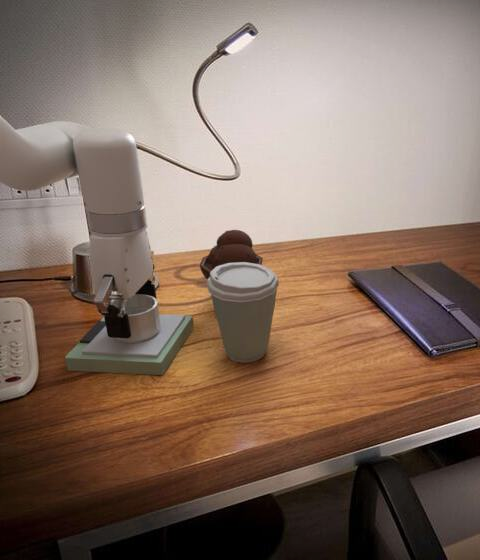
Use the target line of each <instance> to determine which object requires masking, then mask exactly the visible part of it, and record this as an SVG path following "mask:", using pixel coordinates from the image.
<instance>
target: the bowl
mask: <svg viewBox="0 0 480 560" xmlns="http://www.w3.org/2000/svg"><path fill="white" fill-rule="evenodd" d="M111 305H114V306H115V307H117V308H118V305H119V300H111ZM125 314H128V318H129V324H130V330H131V336H130V338H116V339H117V340H119V341H121V342H126V343H135V342H141V341H145V340H148V339H150V338H152V337H154V336H155V335H156V334H157V333H158V331H159V330H160V329H161V322H160V316H159V314H160V310H159V301H158V299H155V298H154V297H153V296H149V295H143V294H134V295H133V296H132V297H130V298H129V299H127V303H126V308H125Z"/></svg>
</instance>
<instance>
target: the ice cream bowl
mask: <svg viewBox="0 0 480 560" xmlns="http://www.w3.org/2000/svg"><path fill="white" fill-rule="evenodd" d="M253 245H254V243H253V240H252V238H251V236H250V235H249V234H248V233H246V232H245V231H242V230H240V229H231V230H225V231H224V232H223V233H221V235H220V236H218V238H217V239H216V245H214V246H213V247H212V248H211V249H210V251H209V254H208V255H205V256H203V257H202V258H201V261H200V263H199V268H200V271H201V273H202V275H203V277H204V278H205V279H206V281H207V280H208V278H209V277H210V272H211V271H212V270H213V269H214V268H215V267H216V266H220V265H223V264H227V263H237V262H247V263H254V264H260V265H262V266H263V260H264V258H263V257H262V256H260V255H259V254H258V253H256V252H255V251H254V249H253Z"/></svg>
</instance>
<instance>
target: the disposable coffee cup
mask: <svg viewBox="0 0 480 560" xmlns="http://www.w3.org/2000/svg"><path fill="white" fill-rule="evenodd" d="M279 286H280V283H279V278H278V276H277V274H276V273H275V272H274V271H273V270H272V269H271V268H268V267H266V266H265V265H263V264H262V265H260V264H254V263H247V262H237V263H227V264H223V265H220V266H216V267H215V268H214V269H213V270H212V271H211V272H210V277H209V278H208V280H207V279H206V287H207V288H206V289H207V291H208V294H210V296H211V300H212V304H213V309H214V313H215V316H216V320H217V324H218V328H219V332H220V335H221V340H222V344H223V348H224V350H225V351H224V352H225V354H226V356H227V357H228V359H230V360H232V361H233V362H235V363H241V364H248V363H253V362H257V361H259V360H260V359H262V358H263V357H264V356H265V354H266V352H267V350H268V349H269V343H270V339H271V338H270V336H271V331H272V324H273V318H274V311H275V306H276V299H277V292H278V287H279Z"/></svg>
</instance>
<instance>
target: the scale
mask: <svg viewBox="0 0 480 560" xmlns="http://www.w3.org/2000/svg"><path fill="white" fill-rule="evenodd" d="M159 316H160V322H161V329H160V330H159V331H158V333H157V334H156V335H155V336H154V337H152V338H150V339H148V340H145V341H141V342H135V343H126V342H121V341H119V340H117V339H116V338H111V337H108V334H107V329H106V324H105V319H104V316H102V318H101V319H100V320H98V321H97V322H96V323H95V324H94V325H93V326H92V327H91V328H90V329H89V330H88V331H87V332H86V333H85V334H84V336H82V337H81V339H79V341H78V343H77V344H76V345H75V346H74V347H73V348H72V349H71V350H70V351H69V352H68V353H67V354H66V356H64V362H65V366H66V371H69V372H85V373H86V372H87V373H88V372H89V373H104V374H105V373H107V374H128V375H129V374H131V375H148V376H164V374H165V373H166V371H167V370H168V368H169V367H170V365H171V364H172V362H173V361H174V359H175V358H176V356H177V354H178V353H179V351H180V350H181V348H182V347H183V345H184V344H185V342H186V341H187V339H188V337H189V336H190V334H191V333H192V331H193V329H195V325H194V316H193V315H189V314H188V315H187V314H169V313H159Z"/></svg>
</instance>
